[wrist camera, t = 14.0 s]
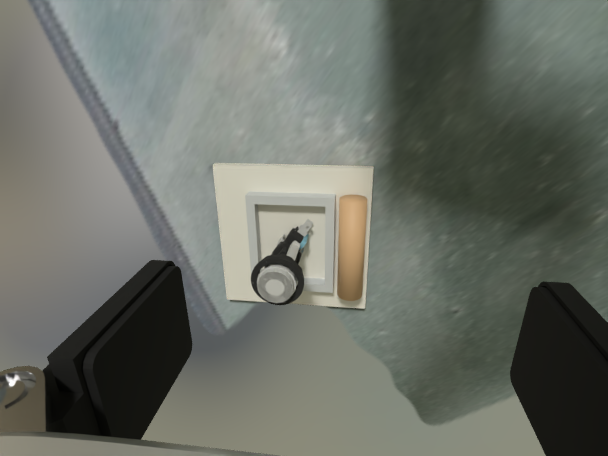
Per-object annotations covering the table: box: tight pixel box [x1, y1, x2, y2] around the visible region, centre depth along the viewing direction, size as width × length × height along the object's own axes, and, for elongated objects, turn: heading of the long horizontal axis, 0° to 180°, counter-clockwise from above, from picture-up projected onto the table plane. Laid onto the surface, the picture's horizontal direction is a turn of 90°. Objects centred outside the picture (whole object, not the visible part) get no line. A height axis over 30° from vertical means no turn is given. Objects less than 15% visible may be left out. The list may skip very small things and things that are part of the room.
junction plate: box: [213, 163, 373, 309], centre depth 45 cm, size 18×18×4 cm
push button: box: [251, 219, 313, 305], centre depth 41 cm, size 7×5×10 cm
